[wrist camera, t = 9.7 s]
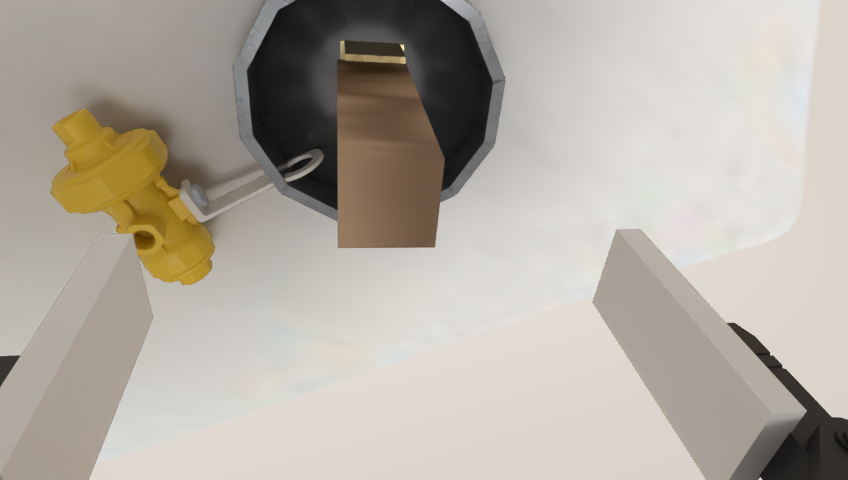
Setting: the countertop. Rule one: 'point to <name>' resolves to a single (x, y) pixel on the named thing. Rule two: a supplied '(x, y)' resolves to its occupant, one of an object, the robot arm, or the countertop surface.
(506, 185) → the countertop surface
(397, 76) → the wooden beam block
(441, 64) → the tin
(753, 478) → the robot arm
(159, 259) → the pressure relief valve
